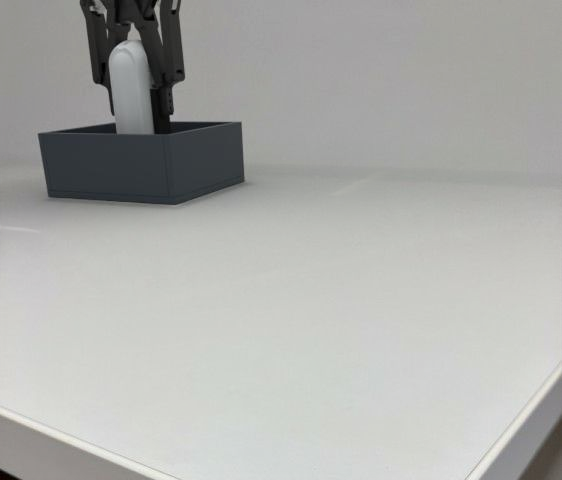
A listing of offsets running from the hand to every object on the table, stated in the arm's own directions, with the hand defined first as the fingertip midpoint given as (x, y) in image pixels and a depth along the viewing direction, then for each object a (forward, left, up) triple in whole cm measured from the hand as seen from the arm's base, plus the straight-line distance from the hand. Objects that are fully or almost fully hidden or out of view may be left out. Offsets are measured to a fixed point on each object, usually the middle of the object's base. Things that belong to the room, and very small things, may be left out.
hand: (145, 142), depth 90 cm
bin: (0, 0, -6) cm, 6 cm away
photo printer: (0, 0, 0) cm, 0 cm away
